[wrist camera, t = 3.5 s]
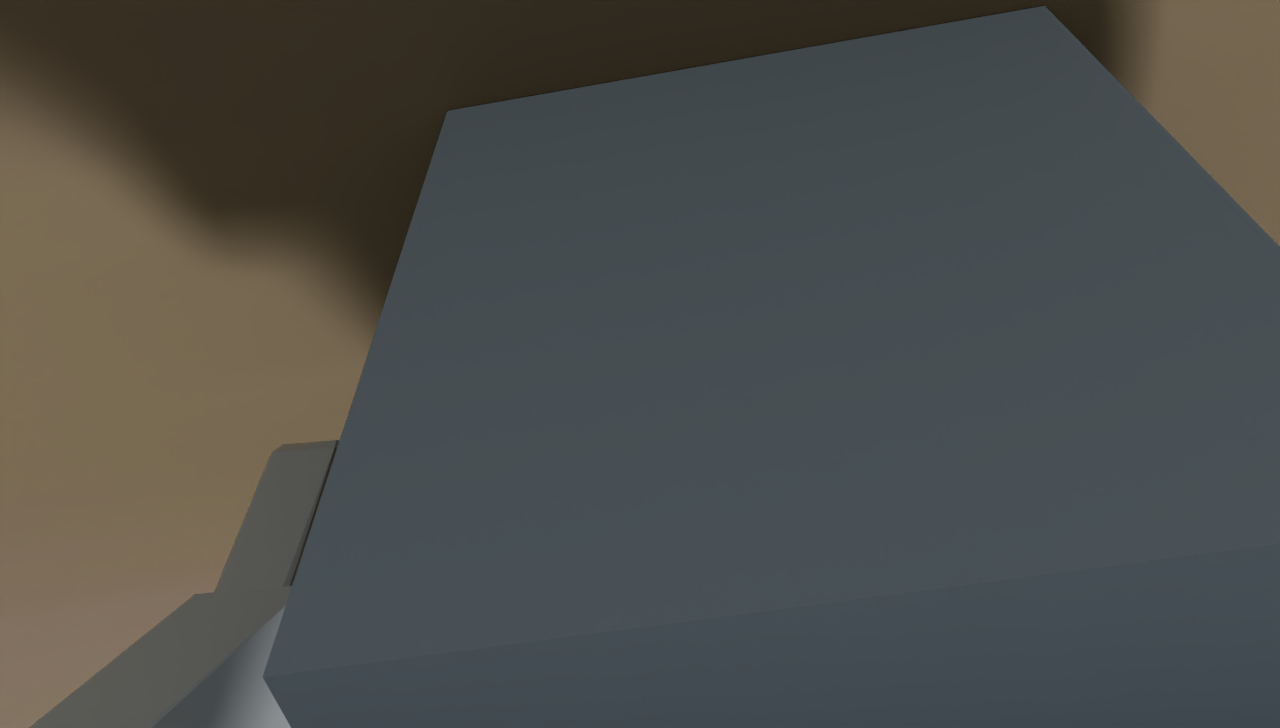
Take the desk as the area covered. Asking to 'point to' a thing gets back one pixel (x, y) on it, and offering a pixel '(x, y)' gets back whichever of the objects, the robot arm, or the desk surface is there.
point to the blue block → (810, 412)
